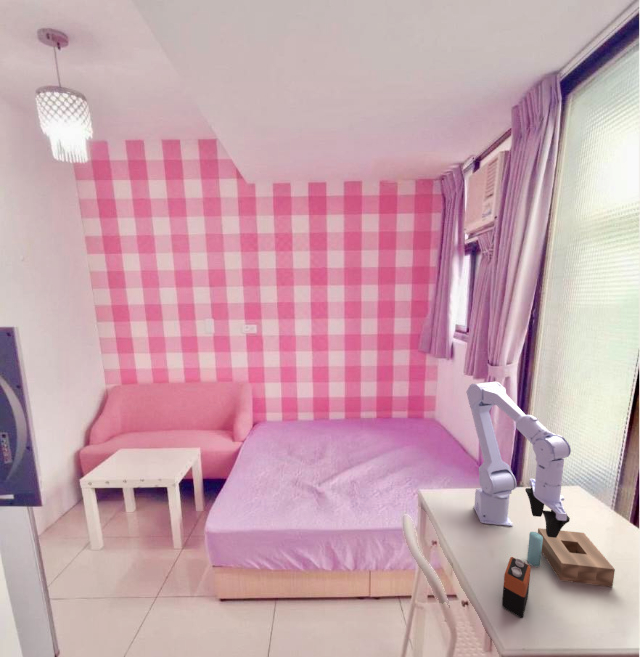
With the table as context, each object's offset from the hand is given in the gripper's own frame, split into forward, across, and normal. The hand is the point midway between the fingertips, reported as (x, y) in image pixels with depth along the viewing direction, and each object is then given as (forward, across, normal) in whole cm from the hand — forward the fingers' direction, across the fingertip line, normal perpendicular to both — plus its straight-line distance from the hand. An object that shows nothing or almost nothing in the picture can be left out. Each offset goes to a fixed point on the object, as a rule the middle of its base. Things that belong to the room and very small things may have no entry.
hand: (543, 525), depth 89 cm
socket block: (+10, -1, -7) cm, 12 cm away
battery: (+10, -15, +13) cm, 22 cm away
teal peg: (+10, -2, +3) cm, 10 cm away
